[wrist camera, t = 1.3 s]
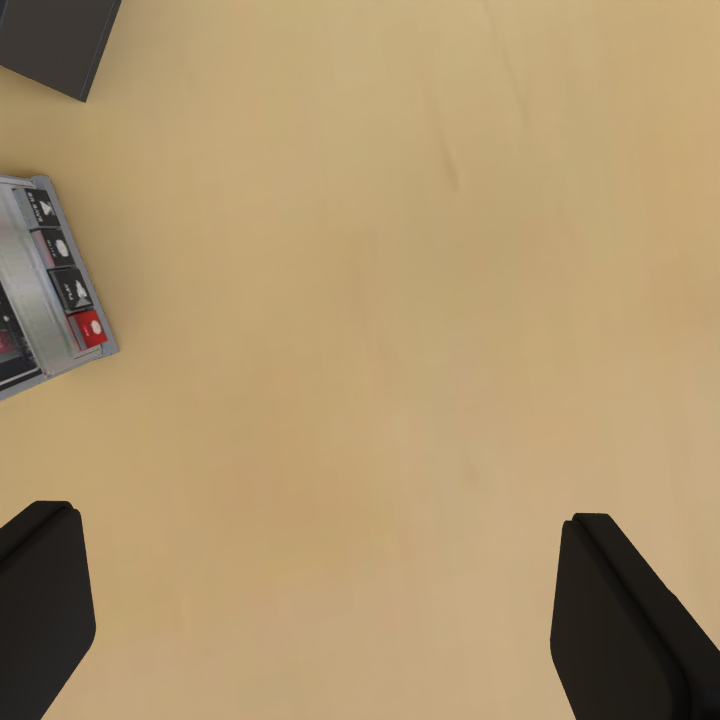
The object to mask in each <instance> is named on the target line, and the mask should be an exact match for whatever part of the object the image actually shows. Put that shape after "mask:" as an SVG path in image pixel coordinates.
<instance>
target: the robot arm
mask: <svg viewBox="0 0 720 720" xmlns="http://www.w3.org/2000/svg"><path fill="white" fill-rule="evenodd" d="M95 632H96V622H95V615H94V608H93V600H92V593H91V586H90V578H89V571H88V564H87V556H86V549H85V542H84V534H83V527H82V520H81V515H80V512H79V511H78V510H77V509H73V507H72V505H71V503H69V502H67V501H35V502H33V503H32V504H30V505H29V506H28V507H27V508H25V509H24V510H23V511H22V512H20V513H19V514H18V515H17V516H15V517H14V518H13V519H12V520H10V521H9V522H8V523H7V524H5V525H4V526H3V527H2V528H0V720H41V718H42V717H43V715H44V714H45V712H46V711H47V709H48V708H49V707H50V705H51V704H52V702H53V701H54V699H55V698H56V696H57V695H58V693H59V692H60V691H61V689H62V688H63V686H64V685H65V683H66V682H67V680H68V679H69V677H70V676H71V675H72V673H73V672H74V670H75V669H76V667H77V666H78V664H79V663H80V661H81V660H82V659H83V657H84V656H85V654H86V653H87V651H88V650H89V648H90V647H91V645H92V643H93V640H94V637H95ZM550 649H551V655H552V659H553V662H554V665H555V668H556V670H557V673H558V675H559V678H560V680H561V683H562V685H563V688H564V690H565V693H566V695H567V698H568V700H569V703H570V705H571V708H572V710H573V713H574V715H575V718H576V720H720V651H719V650H718V649H717V647H716V646H715V645H714V644H713V642H712V641H711V640H710V639H709V637H708V636H707V635H706V634H705V632H704V631H703V630H702V629H701V627H700V626H699V625H698V624H697V622H696V621H695V620H694V619H693V617H692V616H691V615H690V614H689V612H688V611H687V610H686V609H685V607H684V606H683V605H682V604H681V602H680V601H679V600H678V599H677V597H676V596H675V595H674V594H673V593H672V592H671V591H670V590H668V588H667V587H666V586H665V585H664V583H663V582H662V581H661V580H660V578H659V577H658V576H657V575H656V573H655V572H654V571H653V570H652V568H651V567H650V566H649V564H648V563H647V562H646V561H645V559H644V558H643V557H642V556H641V554H640V553H639V552H638V551H637V549H636V548H635V547H634V546H633V544H632V543H631V542H630V541H629V539H628V538H627V537H626V536H625V534H624V533H623V532H622V530H621V529H620V528H619V527H618V525H617V524H616V523H615V522H614V520H613V519H612V518H611V517H610V516H609V515H608V514H601V513H576V514H574V516H573V518H572V521H567V520H566V521H565V522H564V524H563V528H562V536H561V545H560V554H559V563H558V572H557V582H556V591H555V600H554V609H553V618H552V627H551V636H550Z"/></svg>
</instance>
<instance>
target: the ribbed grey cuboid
mask: <svg viewBox="0 0 720 720" xmlns="http://www.w3.org/2000/svg"><path fill="white" fill-rule="evenodd" d="M117 352H119V349H118V346H117V344H116V341H115V339H114V336H113V334H112V331H111V329H110V326H109V324H108V321H107V319H106V316H105V314H104V312H103V309H102V307H101V304H100V302H99V299H98V297H97V294H96V292H95V289H94V287H93V284H92V282H91V279H90V277H89V275H88V272H87V270H86V267H85V265H84V262H83V260H82V257H81V255H80V252H79V250H78V247H77V245H76V242H75V240H74V238H73V235H72V233H71V230H70V228H69V225H68V223H67V220H66V218H65V215H64V213H63V210H62V208H61V205H60V203H59V200H58V198H57V196H56V193H55V191H54V188H53V186H52V183H51V181H50V178H49V176H44V175H37V176H34V177H31V178H28V179H27V178H21V177H14V176H8V175H2V174H0V401H2V400H4V399H7V398H9V397H11V396H13V395H16V394H18V393H20V392H22V391H24V390H27V389H29V388H31V387H33V386H36V385H38V384H40V383H42V382H45V381H47V380H49V379H51V378H54V377H56V376H58V375H60V374H63V373H65V372H67V371H69V370H72V369H74V368H76V367H78V366H81V365H83V364H85V363H87V362H89V361H92V360H96V359H99V358H103V357H106V356H109V355H113V354H115V353H117Z"/></svg>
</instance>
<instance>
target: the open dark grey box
mask: <svg viewBox="0 0 720 720" xmlns="http://www.w3.org/2000/svg"><path fill="white" fill-rule="evenodd" d="M120 3H121V0H0V65H1V66H3V67H6V68H8V69H10V70H12V71H15V72H17V73H19V74H21V75H24V76H26V77H28V78H30V79H33V80H35V81H37V82H39V83H42V84H44V85H46V86H48V87H51V88H53V89H55V90H57V91H60V92H62V93H64V94H66V95H69V96H71V97H73V98H75V99H78V100H80V101H82V102H84V103H85V102H86V99H87V96H88V93H89V90H90V88H91V85H92V82H93V79H94V76H95V73H96V71H97V68H98V65H99V62H100V59H101V57H102V54H103V51H104V48H105V45H106V42H107V40H108V37H109V34H110V31H111V28H112V25H113V23H114V20H115V17H116V14H117V11H118V9H119V6H120Z"/></svg>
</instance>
